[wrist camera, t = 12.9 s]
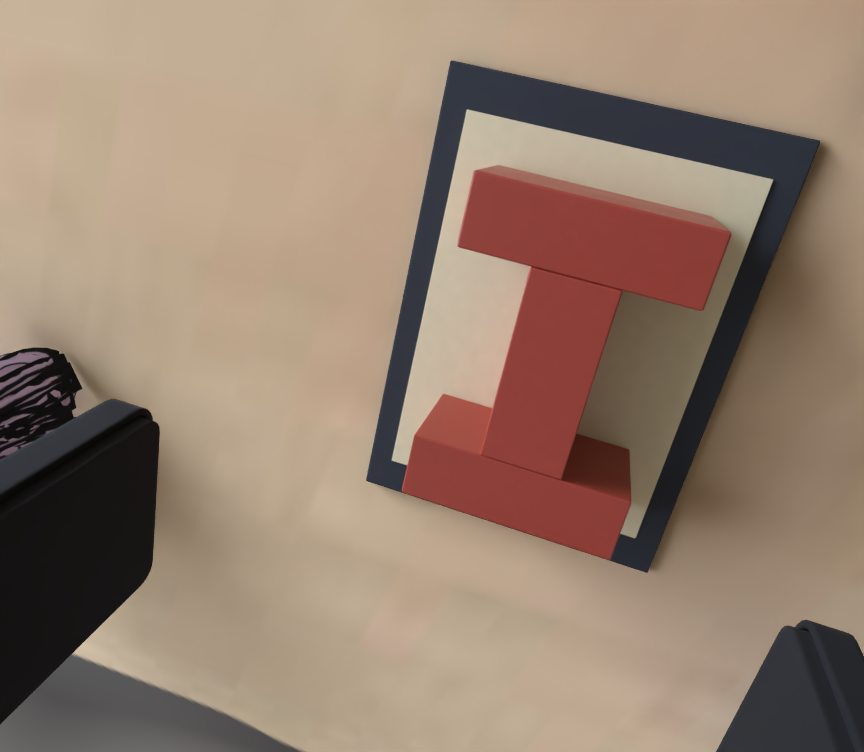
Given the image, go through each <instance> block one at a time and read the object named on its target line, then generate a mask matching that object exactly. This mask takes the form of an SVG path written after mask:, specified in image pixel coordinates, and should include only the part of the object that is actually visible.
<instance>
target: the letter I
mask: <svg viewBox="0 0 864 752" xmlns="http://www.w3.org/2000/svg"><path fill="white" fill-rule="evenodd" d="M731 235H732V233H731V232H730V231H729V230H728V229H726V228H725V227H724V226H723V225H722V224H720V223H719V222H718V221H717V220H716V219H715V218H713V217H712V216H709V215H704V214H700V213H696V212H692V211H688V210H684V209H680V208H675V207H671V206H667V205H663V204H659V203H655V202H650V201H646V200H642V199H638V198H634V197H630V196H626V195H621V194H617V193H613V192H609V191H605V190H601V189H596V188H592V187H588V186H584V185H580V184H576V183H572V182H567V181H563V180H559V179H555V178H551V177H547V176H542V175H538V174H534V173H530V172H526V171H522V170H518V169H513V168H509V167H505V166H501V165H496V166H491V167H487V168H483V169H478V170H474V172H473V176H472V181H471V185H470V189H469V194H468V198H467V203H466V207H465V212H464V216H463V221H462V225H461V229H460V234H459V238H458V243H457V246H458V247H459V248H463V249H467V250H470V251H474V252H478V253H482V254H486V255H489V256H493V257H497V258H501V259H505V260H508V261H512V262H516V263H520V264H524V265H527V266H531V268H530V270H529V274H528V277H527V281H526V285H525V289H524V292H523V296H522V300H521V304H520V307H519V311H518V315H517V318H516V322H515V326H514V330H513V333H512V337H511V341H510V344H509V348H508V352H507V356H506V359H505V363H504V367H503V371H502V374H501V378H500V382H499V385H498V389H497V393H496V397H495V400H494V404H493V408H490V407H486V406H483V405H480V404H476V403H473V402H470V401H466V400H463V399H460V398H456V397H453V396H450V395H446V394H442V396H441V397H440V399H439V400H438V402H437V403H436V404H435V406H434V407H433V409H432V410H431V412H430V413H429V415H428V416H427V418H426V419H425V420H424V422H423V423H422V425H421V426H420V428H419V429H418V431H417V432H416V433H415V435H414V438H413V442H412V447H411V451H410V456H409V460H408V465H407V469H406V474H405V478H404V482H403V487H402V492H403V493H406V494H409V495H412V496H415V497H418V498H421V499H424V500H427V501H430V502H433V503H436V504H439V505H442V506H445V507H448V508H452V509H455V510H458V511H461V512H464V513H467V514H470V515H473V516H476V517H479V518H482V519H485V520H488V521H491V522H494V523H497V524H500V525H503V526H506V527H510V528H513V529H516V530H519V531H522V532H525V533H528V534H531V535H534V536H537V537H540V538H543V539H546V540H549V541H552V542H555V543H558V544H561V545H565V546H568V547H571V548H574V549H577V550H580V551H583V552H586V553H589V554H592V555H595V556H598V557H601V558H604V559H607V560H610V559H611V557H612V554H613V551H614V549H615V546H616V543H617V541H618V538H619V535H620V533H621V530H622V527H623V525H624V522H625V519H626V517H627V514H628V511H629V509H630V506H631V476H630V450H629V449H626V448H623V447H619V446H616V445H613V444H609V443H606V442H603V441H599V440H596V439H593V438H589V437H586V436H583V435H579V434H577V431H578V428H579V425H580V421H581V418H582V415H583V412H584V409H585V406H586V403H587V400H588V397H589V394H590V391H591V387H592V384H593V381H594V378H595V375H596V372H597V369H598V366H599V363H600V360H601V357H602V354H603V350H604V347H605V344H606V341H607V338H608V335H609V332H610V329H611V326H612V323H613V320H614V317H615V313H616V310H617V307H618V304H619V301H620V298H621V295H622V291H626V292H630V293H634V294H637V295H641V296H645V297H649V298H653V299H656V300H660V301H664V302H668V303H672V304H675V305H679V306H683V307H687V308H691V309H694V310H698V311H703V310H704V308H705V305H706V302H707V300H708V297H709V294H710V292H711V289H712V286H713V284H714V281H715V278H716V275H717V273H718V270H719V267H720V265H721V262H722V259H723V257H724V254H725V251H726V249H727V246H728V243H729V241H730V238H731Z"/></svg>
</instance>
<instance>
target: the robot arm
mask: <svg viewBox="0 0 864 752" xmlns="http://www.w3.org/2000/svg"><path fill="white" fill-rule="evenodd" d="M159 436H160V430H159V426H158V424H157V423H156V422H154V421H153V419H152V415H151V413H150V411H148V410H147V409H145V408H142V407H138V406H135V405H132V404H129V403H126V402H123V401H120V400H117V399H110V400H107V401H105V402H103V403H101V404H99V405H97V406H96V407H94V408H92V409H90V410H88V411H87V412H85V413H83V414H81V415H79V416H78V417H76V418H74V419H72V420H70V421H69V422H67V423H65V424H63V425H61V426H60V427H58V428H56V429H54V430H52V431H51V432H49V433H47V434H45V435H44V436H42V437H40V438H38V439H36V440H35V441H33V442H31V443H29V444H27V445H26V446H24V447H22V448H20V449H18V450H17V451H15V452H13V453H11V454H9V455H8V456H6V457H4V458H2V459H0V724H1V723H2V722H3V721H4V720H5V719H6V718H7V717H8V716H9V715H10V714H11V713H12V712H13V711H14V710H15V709H16V708H17V707H18V706H19V705H20V704H21V703H22V702H23V701H24V700H25V699H26V698H27V697H28V696H29V695H30V694H31V693H32V692H33V691H34V690H35V689H36V688H38V687H39V686H40V685H41V684H42V683H43V682H44V680H46V679H47V678H48V677H49V676H50V675H51V674H52V673H53V672H54V671H55V670H56V669H57V668H58V667H59V666H60V665H61V664H62V663H63V662H64V661H65V660H66V659H67V658H68V657H69V656H70V655H71V654H72V653H73V652H74V651H75V650H76V649H77V648H78V647H79V646H80V645H81V644H82V643H83V642H84V641H85V640H86V639H87V638H88V637H89V636H90V635H91V634H92V633H93V632H94V631H95V630H96V629H97V628H98V627H99V626H100V625H101V624H102V623H103V622H104V621H105V620H106V619H107V618H108V617H109V616H110V615H111V614H112V613H113V612H115V611H116V610H117V609H118V608H119V607H120V606H121V605H122V604H123V603H124V602H125V601H126V600H127V599H128V598H129V597H130V596H131V595H132V594H133V593H134V592H135V591H136V590H137V589H138V588H139V587H140V586H141V585H142V583H143V582H144V581H145V579H146V578H147V576H148V574H149V572H150V570H151V566H152V562H153V547H154V529H155V510H156V492H157V473H158V454H159ZM716 752H864V656H863V654H862V651H861V649H860V647H859V645H858V643H857V641H856V640H855V638H854V637H853V636H852V635H851V634H849V633H846V632H843V631H840V630H837V629H834V628H830V627H827V626H824V625H821V624H818V623H815V622H812V621H808V620H803V621H801V622H800V623H798V624H797V626H796V627H791V626H784V627H783V628H782V629H781V631H780V632H779V634H778V635H777V637H776V639H775V641H774V643H773V645H772V647H771V649H770V651H769V653H768V654H767V656H766V658H765V660H764V662H763V664H762V666H761V668H760V670H759V671H758V673H757V675H756V677H755V679H754V681H753V683H752V685H751V687H750V689H749V690H748V692H747V694H746V696H745V698H744V700H743V702H742V704H741V706H740V708H739V709H738V711H737V713H736V715H735V717H734V719H733V721H732V723H731V725H730V726H729V728H728V730H727V732H726V734H725V736H724V738H723V740H722V742H721V744H720V745H719V747H718V749H717V751H716Z"/></svg>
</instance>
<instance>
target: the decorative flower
mask: <svg viewBox="0 0 864 752" xmlns="http://www.w3.org/2000/svg"><path fill="white" fill-rule="evenodd" d="M80 389H82V387H81V385H80V383H79V381H78V379H77V377H76V374H75V372H74V370H73V368H72V366H71V364H70V362H69V363H68V362H67V360H66V358H65V355H64V353H63V354H59V351H57V350H53V349H49V348H28V349H22V350H19V351H16V352H13V353H9V354H4V355H1V356H0V459H2V458H4V457H6V456H8V455H9V454H11V453H13V452H15V451H17V450H18V449H20V448H22V447H24V446H26V445H27V444H29V443H31V442H33V441H35V440H36V439H38V438H40V437H42V436H44V435H45V434H47V433H49V432H51V431H52V430H54V429H56V428H58V427H60V426H61V425H63V424H65V423H67V422H69V421H70V420H72V419H74V418H76V417H73V414H72V410H73V409H75V408H76V405H75V400H74V399H75V395H76V392H77V391H78V390H80Z"/></svg>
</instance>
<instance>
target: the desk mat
mask: <svg viewBox="0 0 864 752" xmlns="http://www.w3.org/2000/svg"><path fill="white" fill-rule="evenodd" d="M819 144H820V141H818V140H814V139H809V138H805V137H800V136H796V135H791V134H786V133H782V132H777V131H773V130H768V129H763V128H759V127H754V126H750V125H745V124H740V123H736V122H731V121H727V120H722V119H718V118H713V117H708V116H704V115H699V114H695V113H690V112H685V111H681V110H676V109H672V108H667V107H662V106H658V105H653V104H649V103H644V102H640V101H635V100H630V99H626V98H621V97H617V96H612V95H607V94H603V93H598V92H594V91H589V90H584V89H580V88H575V87H571V86H566V85H562V84H557V83H552V82H548V81H543V80H539V79H534V78H529V77H525V76H520V75H516V74H511V73H506V72H502V71H497V70H493V69H488V68H484V67H479V66H474V65H470V64H465V63H461V62H456V61H451V62H450V66H449V71H448V76H447V81H446V86H445V91H444V96H443V101H442V106H441V111H440V116H439V121H438V126H437V131H436V136H435V141H434V146H433V151H432V156H431V161H430V166H429V171H428V176H427V181H426V186H425V191H424V196H423V201H422V206H421V211H420V216H419V220H418V225H417V230H416V235H415V240H414V245H413V250H412V255H411V260H410V265H409V270H408V275H407V280H406V285H405V290H404V295H403V300H402V305H401V310H400V315H399V320H398V325H397V330H396V335H395V340H394V345H393V350H392V355H391V360H390V365H389V370H388V375H387V380H386V385H385V390H384V395H383V400H382V405H381V410H380V414H379V419H378V424H377V429H376V434H375V439H374V444H373V449H372V454H371V459H370V464H369V469H368V474H367V479H366V481H368V482H372V483H375V484H378V485H381V486H384V487H387V488H390V489H393V490H396V491H399V492H402V487H403V482H404V478H405V474H406V469H407V465H408V460H409V456H410V451H411V447H412V442H413V438H414V435H415V433H416V432H417V431H418V429H419V428H420V426H421V425H422V423H423V422H424V420H425V419H426V418H427V416H428V415H429V413H430V412H431V410H432V409H433V407H434V406H435V404H436V403H437V402H438V400H439V399H440V397H441V396H442V394H446V395H450V396H453V397H456V398H460V399H463V400H466V401H470V402H473V403H476V404H480V405H483V406H486V407H490V408H493V404H494V400H495V397H496V393H497V389H498V385H499V382H500V378H501V374H502V371H503V367H504V363H505V359H506V356H507V352H508V348H509V344H510V341H511V337H512V333H513V330H514V326H515V322H516V318H517V315H518V311H519V307H520V304H521V300H522V296H523V292H524V289H525V285H526V281H527V277H528V274H529V270H530V268H531V266H527V265H524V264H520V263H516V262H512V261H508V260H505V259H501V258H497V257H493V256H489V255H486V254H482V253H478V252H474V251H470V250H467V249H463V248H459V247H458V246H457V243H458V238H459V234H460V229H461V225H462V221H463V216H464V212H465V207H466V203H467V198H468V194H469V189H470V185H471V181H472V176H473V172H474V170H478V169H483V168H487V167H491V166H496V165H501V166H505V167H509V168H513V169H518V170H522V171H526V172H530V173H534V174H538V175H542V176H547V177H551V178H555V179H559V180H563V181H567V182H572V183H576V184H580V185H584V186H588V187H592V188H596V189H601V190H605V191H609V192H613V193H617V194H621V195H626V196H630V197H634V198H638V199H642V200H646V201H650V202H655V203H659V204H663V205H667V206H671V207H675V208H680V209H684V210H688V211H692V212H696V213H700V214H704V215H709V216H712V217H713V218H715V219H716V220H717V221H718V222H719V223H720V224H722V225H723V226H724V227H725V228H726V229H728V230H729V231H730V232H731V233H732V235H731V238H730V241H729V243H728V246H727V249H726V251H725V254H724V257H723V259H722V262H721V265H720V267H719V270H718V273H717V275H716V278H715V281H714V284H713V286H712V289H711V292H710V294H709V297H708V300H707V302H706V305H705V308H704V310H703V311H698V310H694V309H691V308H687V307H683V306H679V305H675V304H672V303H668V302H664V301H660V300H656V299H653V298H649V297H645V296H641V295H637V294H634V293H630V292H626V291H622V295H621V298H620V301H619V304H618V307H617V310H616V313H615V317H614V320H613V323H612V326H611V329H610V332H609V335H608V338H607V341H606V344H605V347H604V350H603V354H602V357H601V360H600V363H599V366H598V369H597V372H596V375H595V378H594V381H593V384H592V387H591V391H590V394H589V397H588V400H587V403H586V406H585V409H584V412H583V415H582V418H581V421H580V425H579V428H578V431H577V434H579V435H583V436H586V437H589V438H593V439H596V440H599V441H603V442H606V443H609V444H613V445H616V446H619V447H623V448H626V449H629V450H630V476H631V506H630V509H629V511H628V514H627V517H626V519H625V522H624V525H623V527H622V530H621V533H620V535H619V538H618V541H617V543H616V546H615V549H614V551H613V554H612V557H611V559H610V561H613V562H616V563H619V564H622V565H625V566H628V567H631V568H634V569H637V570H640V571H643V572H646V573H647V572H648V570H649V568H650V565H651V563H652V560H653V558H654V555H655V553H656V550H657V548H658V545H659V543H660V540H661V538H662V535H663V533H664V530H665V528H666V525H667V523H668V520H669V518H670V515H671V513H672V510H673V508H674V505H675V503H676V500H677V498H678V495H679V493H680V491H681V488H682V486H683V483H684V481H685V478H686V476H687V473H688V471H689V468H690V466H691V463H692V461H693V458H694V456H695V453H696V451H697V448H698V446H699V443H700V441H701V438H702V436H703V433H704V431H705V428H706V426H707V423H708V421H709V418H710V416H711V413H712V411H713V408H714V406H715V403H716V401H717V398H718V396H719V393H720V391H721V388H722V386H723V383H724V381H725V378H726V376H727V373H728V371H729V368H730V366H731V363H732V361H733V358H734V356H735V353H736V351H737V348H738V346H739V344H740V341H741V339H742V336H743V334H744V331H745V329H746V326H747V324H748V321H749V319H750V316H751V314H752V311H753V309H754V306H755V304H756V301H757V299H758V296H759V294H760V291H761V289H762V286H763V284H764V281H765V279H766V276H767V274H768V271H769V269H770V266H771V264H772V261H773V259H774V256H775V254H776V251H777V249H778V246H779V244H780V241H781V239H782V236H783V234H784V231H785V229H786V226H787V224H788V221H789V219H790V216H791V214H792V211H793V209H794V206H795V204H796V202H797V199H798V197H799V194H800V192H801V189H802V187H803V184H804V182H805V179H806V177H807V174H808V172H809V169H810V167H811V164H812V162H813V159H814V157H815V154H816V152H817V149H818V147H819ZM402 493H403V492H402ZM405 494H406V493H405ZM408 495H409V494H408ZM411 496H412V495H411ZM414 497H415V496H414ZM417 498H418V497H417ZM420 499H421V498H420ZM423 500H424V499H423ZM426 501H427V500H426ZM451 509H452V508H451ZM454 510H455V509H454ZM457 511H458V510H457ZM460 512H461V511H460ZM463 513H464V512H463ZM466 514H467V513H466ZM469 515H470V514H469ZM472 516H473V515H472ZM475 517H476V516H475ZM478 518H479V517H478ZM481 519H482V518H481ZM509 528H510V527H509ZM512 529H513V528H512ZM515 530H516V529H515ZM518 531H519V530H518ZM521 532H522V531H521ZM524 533H525V532H524ZM527 534H528V533H527ZM530 535H531V534H530ZM533 536H534V535H533ZM536 537H537V536H536ZM539 538H540V537H539ZM564 546H565V545H564ZM567 547H568V546H567ZM570 548H571V547H570ZM573 549H574V548H573ZM576 550H577V549H576ZM579 551H580V550H579ZM582 552H583V551H582ZM585 553H586V552H585ZM588 554H589V553H588ZM591 555H592V554H591ZM594 556H595V555H594Z"/></svg>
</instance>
